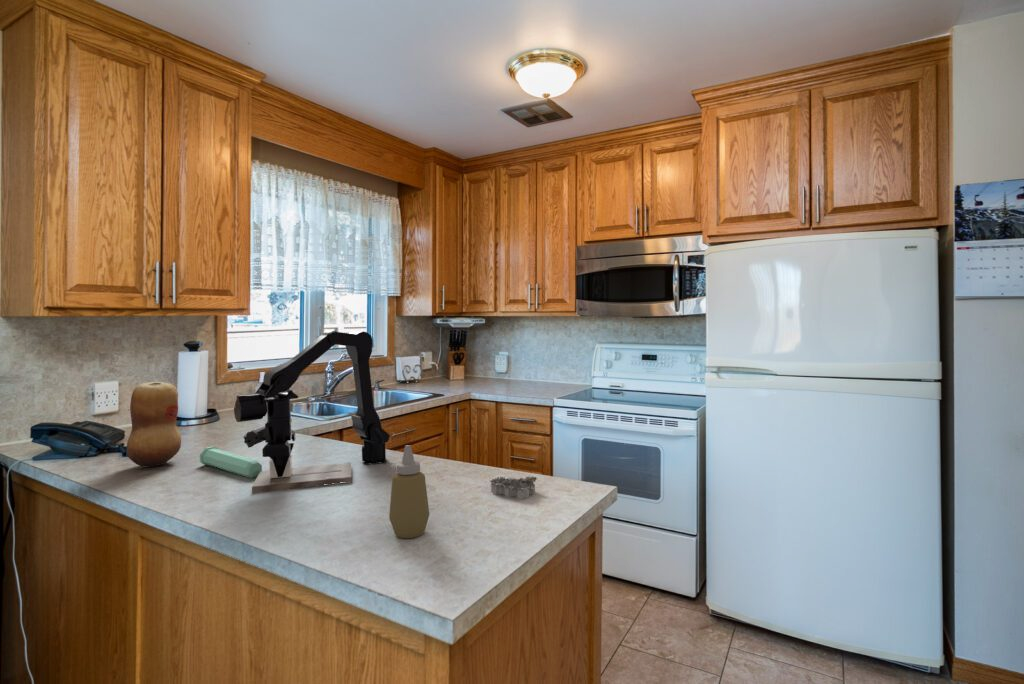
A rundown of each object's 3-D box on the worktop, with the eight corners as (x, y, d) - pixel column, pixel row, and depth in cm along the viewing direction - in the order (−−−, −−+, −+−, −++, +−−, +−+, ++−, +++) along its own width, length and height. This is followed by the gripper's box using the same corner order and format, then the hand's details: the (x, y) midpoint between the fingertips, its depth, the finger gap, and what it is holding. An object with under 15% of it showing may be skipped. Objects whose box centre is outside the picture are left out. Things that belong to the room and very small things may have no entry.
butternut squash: (162, 472, 151) (158, 385, 150) (116, 472, 151) (111, 386, 150) (192, 458, 165) (189, 379, 164) (150, 458, 165) (146, 379, 164)
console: (351, 467, 153) (350, 462, 153) (351, 482, 140) (351, 476, 140) (260, 476, 146) (260, 470, 146) (252, 492, 133) (251, 486, 132)
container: (261, 455, 146) (214, 442, 160) (242, 468, 142) (195, 453, 155) (269, 472, 148) (222, 458, 162) (251, 485, 144) (204, 469, 157)
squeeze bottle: (392, 526, 111) (390, 441, 110) (431, 524, 111) (429, 440, 110) (386, 542, 102) (384, 451, 102) (428, 540, 103) (426, 450, 102)
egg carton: (538, 493, 131) (538, 476, 131) (523, 502, 125) (523, 485, 124) (502, 485, 137) (502, 470, 136) (486, 494, 130) (486, 478, 130)
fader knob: (292, 472, 144) (291, 454, 143) (290, 476, 140) (289, 458, 140) (272, 473, 142) (271, 456, 142) (270, 478, 138) (269, 460, 138)
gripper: (251, 412, 147) (253, 467, 147) (238, 425, 129) (241, 488, 130) (294, 409, 150) (296, 463, 151) (287, 422, 132) (290, 483, 133)
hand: (281, 474), depth 141 cm, fingers closed on fader knob, 4 cm apart
